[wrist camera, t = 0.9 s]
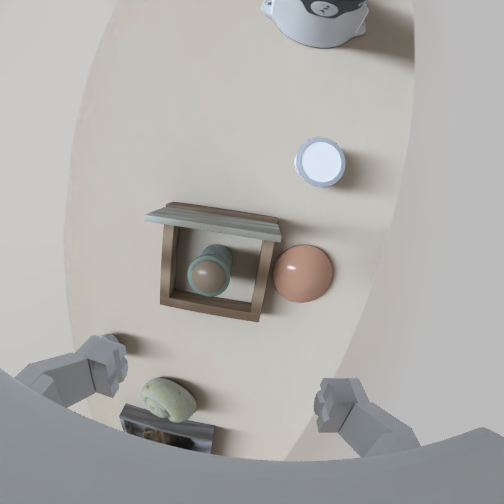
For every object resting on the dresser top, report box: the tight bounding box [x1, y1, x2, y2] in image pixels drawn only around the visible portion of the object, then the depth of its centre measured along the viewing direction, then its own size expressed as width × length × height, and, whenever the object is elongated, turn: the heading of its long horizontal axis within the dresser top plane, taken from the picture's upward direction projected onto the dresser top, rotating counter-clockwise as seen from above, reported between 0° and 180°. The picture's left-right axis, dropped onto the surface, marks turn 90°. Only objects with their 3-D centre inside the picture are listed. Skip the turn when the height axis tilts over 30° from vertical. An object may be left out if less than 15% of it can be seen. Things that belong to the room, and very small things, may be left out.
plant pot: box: [188, 244, 232, 296], centre depth 41 cm, size 6×6×8 cm
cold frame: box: [145, 202, 282, 322], centre depth 40 cm, size 17×17×12 cm
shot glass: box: [294, 137, 346, 187], centre depth 37 cm, size 7×7×7 cm
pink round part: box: [273, 245, 333, 303], centre depth 45 cm, size 10×10×1 cm
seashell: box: [142, 378, 197, 423], centre depth 51 cm, size 13×8×10 cm
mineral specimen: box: [143, 427, 195, 451], centre depth 58 cm, size 14×15×17 cm
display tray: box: [119, 404, 215, 454], centre depth 58 cm, size 24×24×5 cm
